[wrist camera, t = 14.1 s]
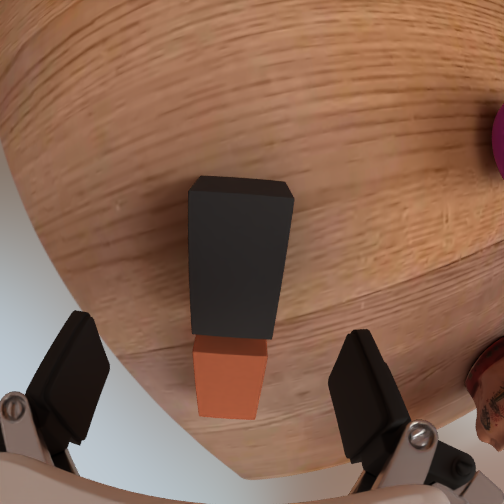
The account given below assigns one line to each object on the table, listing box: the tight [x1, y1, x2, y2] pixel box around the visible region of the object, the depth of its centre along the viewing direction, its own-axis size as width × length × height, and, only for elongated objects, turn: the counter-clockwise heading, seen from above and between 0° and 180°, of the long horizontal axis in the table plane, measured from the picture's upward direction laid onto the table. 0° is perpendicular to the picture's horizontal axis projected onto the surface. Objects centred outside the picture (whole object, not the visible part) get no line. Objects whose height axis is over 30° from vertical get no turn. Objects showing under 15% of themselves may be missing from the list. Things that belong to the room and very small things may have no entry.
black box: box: [188, 176, 294, 340], centre depth 17 cm, size 5×9×4 cm, turn 175°
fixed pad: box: [193, 335, 268, 420], centre depth 21 cm, size 5×9×4 cm, turn 175°
